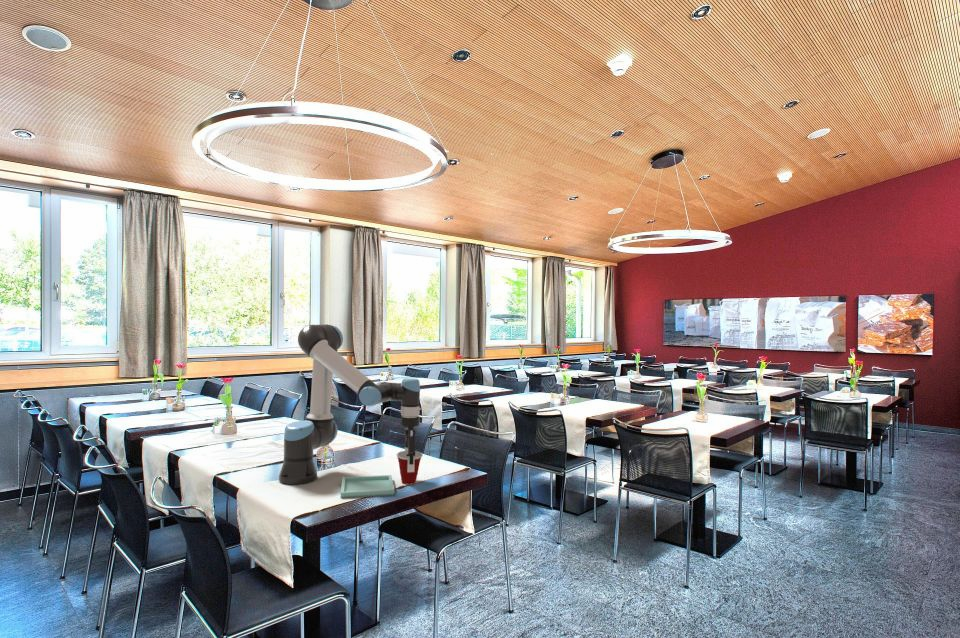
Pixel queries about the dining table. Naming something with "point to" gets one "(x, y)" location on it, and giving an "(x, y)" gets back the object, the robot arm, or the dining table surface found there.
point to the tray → (367, 486)
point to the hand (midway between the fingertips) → (409, 467)
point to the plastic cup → (403, 465)
